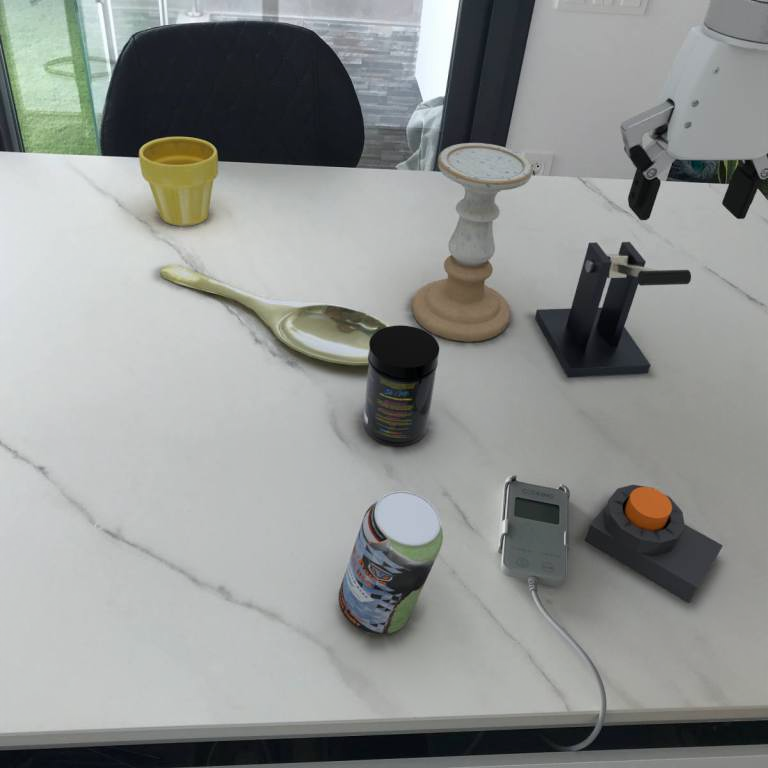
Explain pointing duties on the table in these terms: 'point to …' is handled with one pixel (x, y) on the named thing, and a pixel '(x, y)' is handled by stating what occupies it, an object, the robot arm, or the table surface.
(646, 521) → the power button
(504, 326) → the candle holder
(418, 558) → the beverage can
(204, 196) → the flower pot
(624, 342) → the black lever switch stand
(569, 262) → the table surface
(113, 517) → the table surface
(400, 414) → the supplement container
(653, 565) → the button switch box
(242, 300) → the spoon
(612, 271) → the t-shaped lever handle
